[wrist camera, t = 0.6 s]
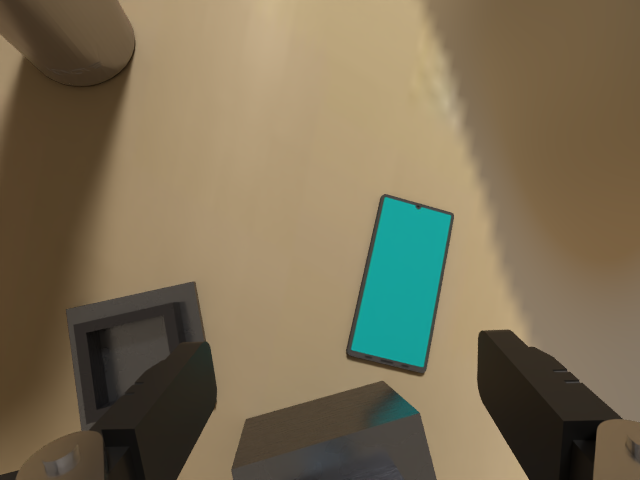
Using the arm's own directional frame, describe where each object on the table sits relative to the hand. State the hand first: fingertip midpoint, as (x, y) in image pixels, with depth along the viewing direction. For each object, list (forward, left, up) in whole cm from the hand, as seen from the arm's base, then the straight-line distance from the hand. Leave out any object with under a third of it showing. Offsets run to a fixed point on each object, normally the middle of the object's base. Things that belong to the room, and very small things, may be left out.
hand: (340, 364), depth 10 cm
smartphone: (-1, +10, -20) cm, 23 cm away
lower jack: (0, -13, -20) cm, 24 cm away
